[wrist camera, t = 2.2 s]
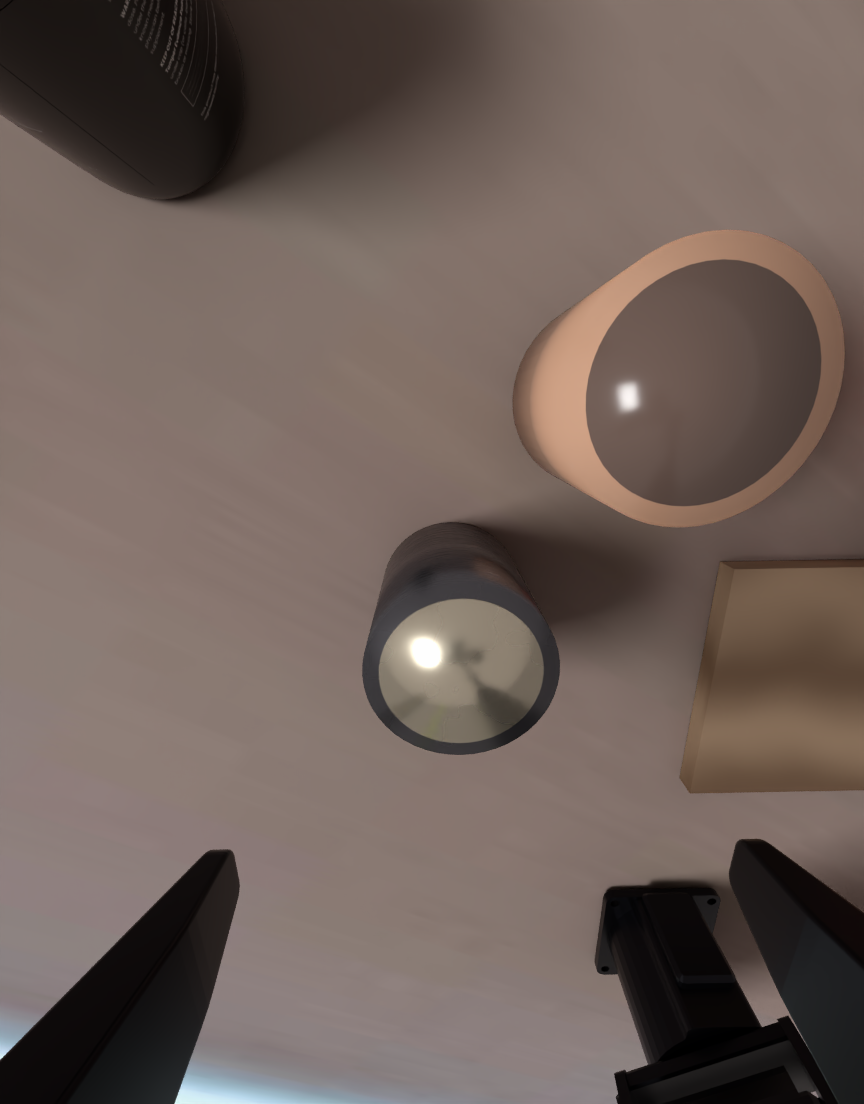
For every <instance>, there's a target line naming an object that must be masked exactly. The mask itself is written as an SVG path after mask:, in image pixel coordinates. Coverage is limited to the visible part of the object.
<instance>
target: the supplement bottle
mask: <svg viewBox="0 0 864 1104" xmlns="http://www.w3.org/2000/svg"><path fill="white" fill-rule="evenodd" d="M243 109H244V77H243V68H242V62H241V57H240V51H239V48H238V44H237V40H236V37H235V34H234V31H233V28H232V25H231V23H230V21H229V18H228V16H227V14H226V11H225V9H224V7H223V4H222V2H221V1H220V0H0V115H2V116H3V117H5V118H6V119H8V120H9V121H11V122H12V123H14V124H15V125H17V126H18V127H20V128H21V129H23V130H24V131H26V132H27V133H29V134H30V135H32V136H33V137H35V138H36V139H38V140H39V141H41V142H42V143H44V144H45V145H47V146H48V147H50V148H51V149H53V150H54V151H56V152H57V153H59V154H60V155H62V156H63V157H65V158H66V159H68V160H69V161H71V162H72V163H74V164H75V165H77V166H78V167H80V168H82V169H83V170H85V171H87V172H88V173H90V174H91V175H93V176H94V177H96V178H97V179H99V180H101V181H102V182H104V183H106V184H108V185H109V186H111V187H113V188H115V189H117V190H120V191H122V192H124V193H127V194H130V195H133V196H137V197H142V198H148V199H170V198H176V197H180V196H184V195H186V194H189V193H191V192H193V191H195V190H197V189H199V188H200V187H202V186H203V185H205V184H206V183H207V182H209V181H210V180H211V179H212V178H213V177H214V176H215V175H216V174H217V173H218V172H219V171H220V169H221V168H222V167H223V165H224V164H225V162H226V161H227V159H228V157H229V156H230V154H231V152H232V150H233V147H234V145H235V143H236V140H237V137H238V134H239V131H240V126H241V122H242V116H243Z"/></svg>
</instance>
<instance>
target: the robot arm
mask: <svg viewBox="0 0 864 1104" xmlns="http://www.w3.org/2000/svg"><path fill="white" fill-rule="evenodd" d="M729 879H730V884H731V887H732V889H733V892H734V894H735V896H736V898H737V901H738V903H739V905H740V907H741V910H742V912H743V914H744V916H745V919H746V921H747V923H748V925H749V928H750V930H751V932H752V934H753V936H754V939H755V941H756V943H757V945H758V948H759V950H760V952H761V954H762V957H763V959H764V961H765V963H766V966H767V968H768V970H769V972H770V974H771V977H772V979H773V981H774V983H775V985H776V987H777V989H778V992H779V994H780V996H781V998H782V1000H783V1001H784V1003H785V1005H786V1007H787V1009H788V1011H789V1013H790V1015H791V1017H792V1019H793V1020H794V1022H795V1024H796V1026H797V1028H798V1030H799V1032H800V1033H801V1035H802V1037H803V1039H804V1041H805V1042H804V1041H803V1039H802V1037H801V1036H800V1034H799V1032H798V1031H797V1029H796V1027H795V1026H794V1024H793V1023H792V1021H791V1019H790V1018H789V1016H785V1017H782V1018H779V1019H777V1020H778V1022H777V1023H774V1024H771V1025H768V1026H765V1027H762V1026H761V1025H760V1023H759V1021H758V1019H757V1017H756V1015H755V1013H754V1012H753V1010H752V1008H751V1006H750V1004H749V1002H748V1000H747V999H746V997H745V995H744V993H743V991H742V989H741V987H740V986H739V984H738V982H737V980H736V978H735V975H734V973H733V971H732V969H731V967H730V966H729V964H728V962H727V960H726V958H725V956H724V954H723V953H722V951H721V949H720V947H719V945H718V943H717V941H716V940H715V938H714V936H713V930H714V925H715V921H716V917H717V913H718V909H719V905H720V898H719V896H718V894H717V893H716V891H715V890H714V889H711V888H695V889H643V890H611V891H608V892H606V893H605V894H604V897H603V904H602V911H601V918H600V926H599V933H598V940H597V947H596V955H595V966H596V969H597V972H598V973H600V974H604V975H605V974H618V976H619V979H620V982H621V985H622V988H623V991H624V994H625V997H626V1000H627V1003H628V1006H629V1009H630V1012H631V1015H632V1018H633V1021H634V1024H635V1027H636V1030H637V1033H638V1036H639V1039H640V1042H641V1045H642V1048H643V1051H644V1054H645V1057H646V1060H647V1063H648V1065H647V1066H644V1067H641V1068H638V1069H634V1070H631V1071H628V1072H626V1071H625V1070H622V1071H619V1072H616V1073H614V1075H615V1080H616V1085H617V1090H618V1095H617V1096H616V1099H617V1103H618V1104H864V913H863V912H862V911H861V910H859V909H858V908H857V907H855V906H854V905H852V904H851V903H850V902H848V901H847V900H846V899H844V898H843V897H842V896H840V895H839V894H837V893H836V892H835V891H833V890H832V889H831V888H829V887H828V886H827V885H825V884H824V883H822V882H821V881H820V880H818V879H817V878H816V877H814V876H813V875H812V874H810V873H809V872H807V871H806V870H805V869H803V868H802V867H801V866H799V865H798V864H797V863H795V862H794V861H792V860H791V859H790V858H788V857H787V856H786V855H784V854H783V853H782V852H780V851H779V850H777V849H776V848H775V847H773V846H772V845H771V844H769V843H768V842H766V841H764V840H761V839H741V840H739V841H738V842H737V843H736V845H735V849H734V853H733V857H732V861H731V865H730V869H729ZM239 888H240V883H239V877H238V872H237V867H236V862H235V857H234V853H233V852H232V851H231V850H228V849H225V850H210V851H208V852H206V853H205V854H204V855H203V856H202V857H201V858H200V859H199V860H198V861H197V862H196V863H195V864H194V865H193V866H192V867H191V868H190V869H189V870H188V871H187V872H186V873H185V874H184V875H183V876H182V877H181V878H180V879H179V880H178V881H177V882H176V883H175V884H174V885H173V886H172V887H171V888H170V889H169V890H168V891H167V892H166V893H165V894H164V895H163V896H162V897H161V898H160V899H159V900H158V901H157V902H156V903H155V904H154V905H153V906H152V907H151V908H150V909H149V910H148V911H147V912H146V913H145V914H144V915H143V916H142V917H141V918H140V919H139V920H138V921H137V922H136V923H135V924H134V925H133V926H132V927H131V928H130V929H129V930H128V931H127V932H126V933H125V934H124V935H123V936H122V937H121V938H120V940H119V941H118V942H117V943H116V944H115V945H114V946H113V947H112V948H111V949H110V950H109V951H108V952H107V953H106V954H105V955H104V956H103V957H102V958H101V959H100V960H99V961H98V962H97V963H96V964H95V965H94V966H93V967H92V968H91V969H90V970H89V971H88V972H87V973H86V974H85V975H84V976H83V977H82V978H81V979H80V980H79V981H78V982H77V983H76V984H75V985H74V986H73V987H72V988H71V989H70V990H69V991H68V992H67V993H66V994H65V995H64V996H63V997H62V998H61V999H60V1000H59V1001H58V1002H57V1003H56V1004H55V1005H54V1006H53V1007H52V1008H51V1009H50V1010H49V1011H48V1012H47V1013H46V1014H45V1015H44V1016H43V1017H42V1018H41V1019H40V1020H39V1021H38V1022H37V1023H36V1024H35V1025H34V1026H33V1027H32V1028H31V1029H30V1030H29V1031H28V1032H27V1033H26V1034H25V1035H24V1036H23V1037H22V1038H21V1039H20V1040H19V1041H18V1042H17V1044H16V1045H15V1046H14V1047H13V1048H12V1049H11V1050H10V1051H9V1052H8V1053H7V1054H6V1055H5V1056H4V1057H3V1058H2V1059H1V1060H0V1104H174V1103H175V1100H176V1098H177V1095H178V1092H179V1089H180V1087H181V1084H182V1081H183V1078H184V1075H185V1073H186V1070H187V1067H188V1064H189V1061H190V1059H191V1056H192V1053H193V1050H194V1047H195V1045H196V1042H197V1039H198V1036H199V1033H200V1031H201V1028H202V1025H203V1022H204V1019H205V1016H206V1013H207V1010H208V1007H209V1004H210V1000H211V997H212V993H213V990H214V986H215V982H216V978H217V975H218V971H219V967H220V964H221V960H222V956H223V952H224V949H225V945H226V941H227V937H228V934H229V930H230V926H231V922H232V919H233V915H234V911H235V908H236V904H237V900H238V896H239ZM805 1043H806V1044H805ZM806 1045H807V1046H808V1047H807V1046H806ZM808 1048H809V1049H808ZM809 1050H810V1051H809ZM814 1091H816V1093H817V1095H818V1097H819V1098H817V1097H816V1096H814V1095H813V1094H811V1093H810V1092H814Z"/></svg>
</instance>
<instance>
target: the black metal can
mask: <svg viewBox="0 0 864 1104" xmlns="http://www.w3.org/2000/svg"><path fill="white" fill-rule="evenodd" d="M559 673H560V660H559V653H558V648H557V645H556V641H555V638H554V636H553V634H552V632H551V630H550V628H549V626H548V624H547V623H546V621H545V619H544V617H543V615H542V613H541V612H540V610H539V608H538V606H537V604H536V603H535V601H534V599H533V597H532V595H531V593H530V592H529V590H528V588H527V586H526V584H525V582H524V581H523V579H522V577H521V575H520V573H519V572H518V570H517V568H516V566H515V564H514V562H513V561H512V559H511V557H510V555H509V554H508V552H507V551H506V549H505V548H504V546H503V545H502V544H501V543H500V542H499V541H498V540H497V539H496V538H494V537H493V536H492V535H490V534H489V533H487V532H486V531H484V530H482V529H480V528H477V527H475V526H471V525H468V524H463V523H440V524H435V525H431V526H428V527H425V528H423V529H421V530H419V531H417V532H415V533H413V534H412V535H411V536H409V537H408V538H407V539H405V540H404V541H403V542H402V543H401V544H400V545H399V547H398V548H397V549H396V550H395V552H394V553H393V555H392V556H391V558H390V560H389V563H388V565H387V568H386V571H385V575H384V579H383V583H382V587H381V591H380V594H379V598H378V602H377V606H376V610H375V614H374V618H373V621H372V625H371V629H370V633H369V637H368V641H367V645H366V649H365V652H364V658H363V668H362V676H363V683H364V688H365V692H366V695H367V698H368V700H369V702H370V704H371V707H372V709H373V710H374V712H375V713H376V715H377V716H378V718H379V719H380V720H381V721H382V722H383V723H384V724H385V726H386V727H388V728H389V729H390V730H391V731H392V732H393V733H394V734H396V735H397V736H399V737H400V738H402V739H403V740H405V741H407V742H409V743H411V744H412V745H414V746H417V747H420V748H422V749H425V750H429V751H432V752H436V753H443V754H454V755H464V754H475V753H480V752H486V751H489V750H492V749H496V748H498V747H501V746H503V745H505V744H508V743H510V742H511V741H513V740H515V739H517V738H518V737H520V736H521V735H523V734H524V733H525V732H527V731H528V730H529V729H530V728H531V727H532V726H533V725H534V724H536V723H537V721H538V720H539V719H540V718H541V717H542V715H543V714H544V713H545V711H546V710H547V708H548V707H549V705H550V703H551V701H552V699H553V697H554V695H555V691H556V688H557V685H558V680H559Z"/></svg>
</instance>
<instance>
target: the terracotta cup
mask: <svg viewBox="0 0 864 1104" xmlns="http://www.w3.org/2000/svg"><path fill="white" fill-rule="evenodd" d="M844 358H845V346H844V332H843V327H842V322H841V318H840V313H839V310H838V308H837V305H836V302H835V300H834V297H833V295H832V293H831V291H830V289H829V287H828V286H827V284H826V282H825V280H824V279H823V277H822V276H821V275H820V274H819V272H818V271H817V270H816V269H815V267H814V266H813V265H812V264H811V263H810V262H809V261H808V260H807V259H805V258H804V257H803V256H802V255H801V254H800V253H799V252H797V251H796V250H794V249H792V248H791V247H789V246H788V245H786V244H784V243H783V242H781V241H778V240H776V239H773V238H771V237H768V236H766V235H762V234H758V233H753V232H749V231H739V230H718V231H707V232H702V233H698V234H694V235H690V236H686V237H683V238H681V239H678V240H676V241H673V242H670V243H668V244H666V245H664V246H662V247H660V248H658V249H656V250H655V251H653V252H651V253H649V254H647V255H646V256H644V257H643V258H642V259H640V260H639V261H637V262H636V263H634V264H633V265H631V266H630V267H629V268H627V269H626V270H624V271H623V272H621V273H620V274H619V275H617V276H616V277H614V278H613V279H611V280H610V281H608V282H607V283H606V284H604V285H603V286H601V287H600V288H598V289H597V290H595V291H594V292H593V293H591V294H590V295H588V296H587V297H585V298H584V299H582V300H581V301H580V302H578V303H577V304H575V305H574V306H572V307H571V308H570V309H568V310H567V311H565V312H564V313H562V314H561V315H560V316H558V317H557V318H555V319H554V320H553V321H551V322H550V323H549V324H548V325H547V326H546V327H545V328H544V329H543V330H542V331H541V332H540V333H539V334H538V336H537V337H536V338H535V339H534V340H533V342H532V344H531V345H530V347H529V348H528V350H527V351H526V353H525V355H524V357H523V359H522V361H521V364H520V366H519V369H518V372H517V375H516V380H515V384H514V391H513V414H514V421H515V425H516V429H517V432H518V435H519V437H520V440H521V442H522V444H523V446H524V447H525V449H526V451H527V452H528V454H529V455H530V456H531V457H532V459H533V460H534V461H535V462H536V463H537V464H538V465H539V466H540V467H541V468H542V469H544V470H545V471H547V472H548V473H550V474H551V475H553V476H555V477H556V478H558V479H560V480H562V481H564V482H565V483H567V484H569V485H571V486H573V487H574V488H576V489H578V490H580V491H582V492H584V493H585V494H587V495H589V496H591V497H593V498H594V499H596V500H598V501H600V502H602V503H603V504H605V505H607V506H609V507H611V508H613V509H614V510H616V511H618V512H620V513H622V514H624V515H626V516H628V517H630V518H632V519H635V520H638V521H641V522H644V523H647V524H652V525H657V526H663V527H693V526H700V525H705V524H710V523H715V522H718V521H721V520H724V519H727V518H730V517H732V516H734V515H737V514H739V513H741V512H743V511H745V510H748V509H749V508H751V507H753V506H754V505H756V504H758V503H759V502H761V501H763V500H764V499H765V498H767V497H768V496H769V495H771V494H772V493H773V492H775V491H776V490H777V489H779V488H780V487H781V486H782V485H783V484H784V483H785V482H786V481H787V480H788V479H789V478H791V477H792V476H793V475H794V473H795V472H796V471H797V470H798V469H799V468H800V467H801V465H802V464H803V463H804V462H805V461H806V459H807V458H808V457H809V455H810V454H811V452H812V451H813V450H814V448H815V447H816V445H817V444H818V442H819V440H820V438H821V437H822V435H823V433H824V431H825V430H826V428H827V425H828V423H829V421H830V418H831V416H832V414H833V411H834V409H835V406H836V403H837V399H838V396H839V393H840V389H841V383H842V378H843V372H844Z"/></svg>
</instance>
